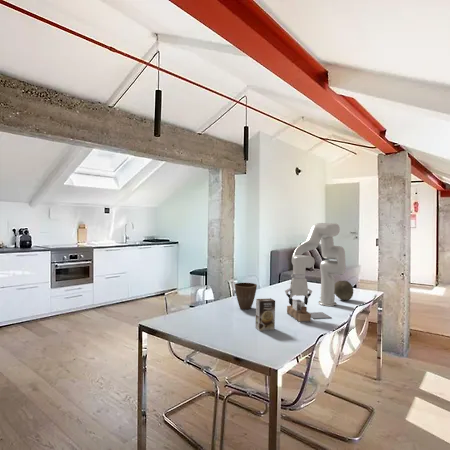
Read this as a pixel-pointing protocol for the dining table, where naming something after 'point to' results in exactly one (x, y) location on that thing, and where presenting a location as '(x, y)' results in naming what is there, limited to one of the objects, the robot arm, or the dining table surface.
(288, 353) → the dining table surface
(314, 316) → the rubber mat
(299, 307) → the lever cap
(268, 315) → the coffee box
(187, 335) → the dining table surface
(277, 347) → the dining table surface
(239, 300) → the plant pot
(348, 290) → the cantaloupe
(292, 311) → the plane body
